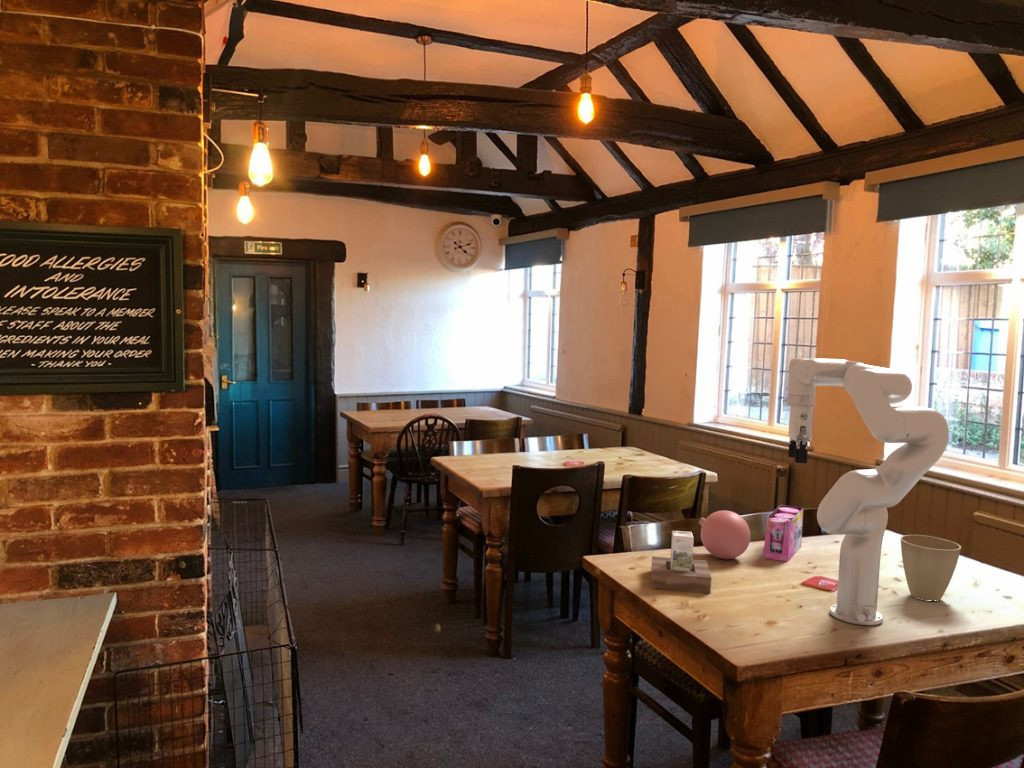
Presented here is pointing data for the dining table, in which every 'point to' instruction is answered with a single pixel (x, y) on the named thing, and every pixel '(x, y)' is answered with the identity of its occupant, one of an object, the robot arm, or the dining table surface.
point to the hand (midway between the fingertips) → (797, 460)
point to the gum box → (783, 533)
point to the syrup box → (682, 551)
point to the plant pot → (928, 565)
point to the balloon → (725, 534)
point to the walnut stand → (681, 576)
